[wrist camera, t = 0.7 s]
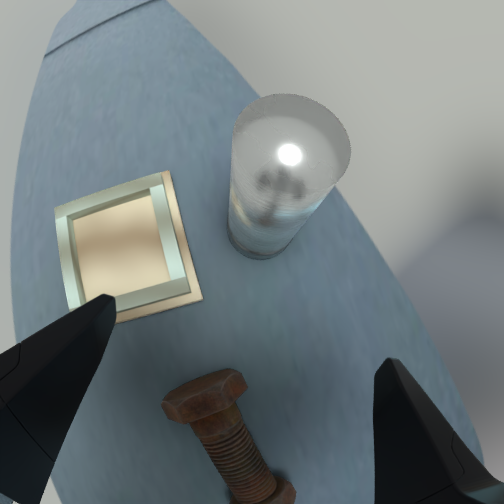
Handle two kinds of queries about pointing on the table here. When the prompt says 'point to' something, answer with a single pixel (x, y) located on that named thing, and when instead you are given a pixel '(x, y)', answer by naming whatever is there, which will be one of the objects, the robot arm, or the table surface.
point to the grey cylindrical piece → (281, 170)
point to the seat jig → (127, 248)
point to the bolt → (227, 436)
